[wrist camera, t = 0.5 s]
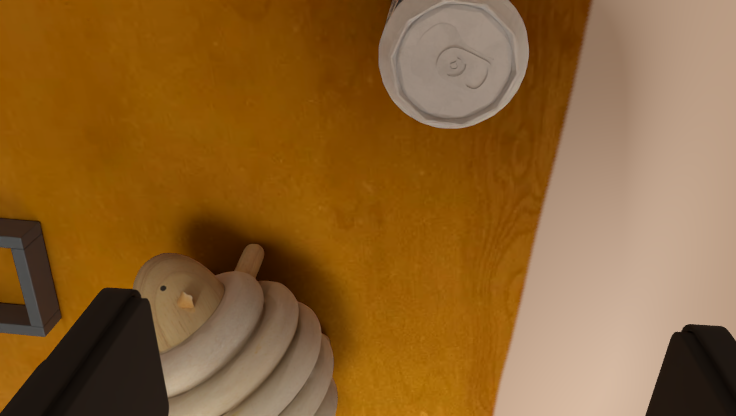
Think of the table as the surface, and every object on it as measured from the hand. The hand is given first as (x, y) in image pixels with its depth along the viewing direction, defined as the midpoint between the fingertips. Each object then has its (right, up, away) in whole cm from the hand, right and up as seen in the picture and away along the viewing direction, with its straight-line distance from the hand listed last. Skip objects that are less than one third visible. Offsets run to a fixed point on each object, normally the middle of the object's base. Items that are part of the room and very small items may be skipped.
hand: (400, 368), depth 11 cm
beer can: (+3, +13, +18) cm, 23 cm away
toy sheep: (-7, -4, +28) cm, 29 cm away
